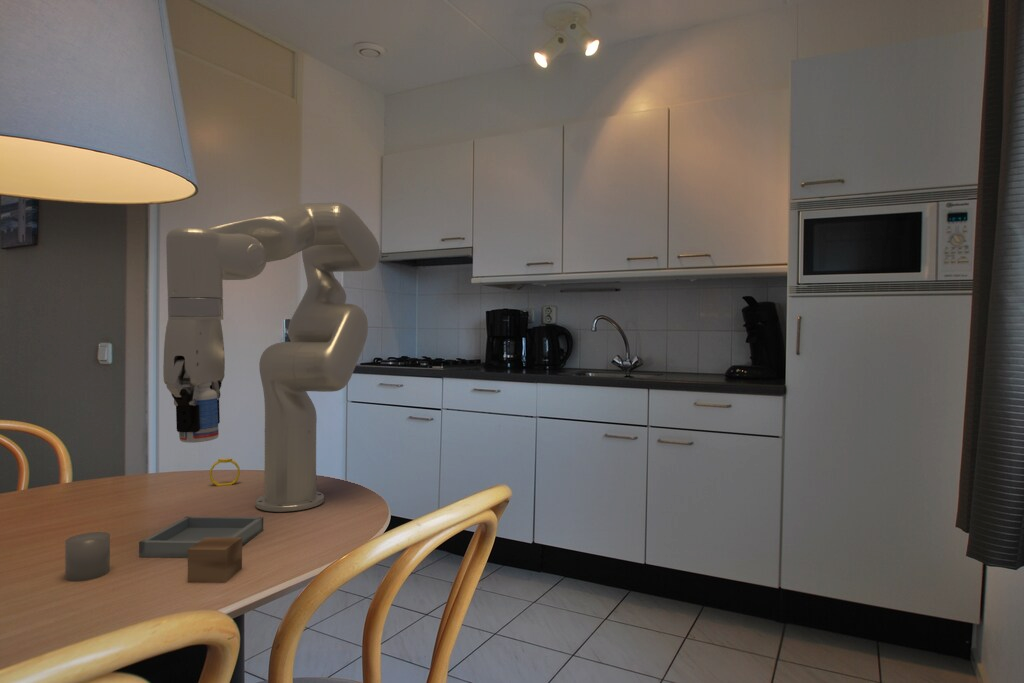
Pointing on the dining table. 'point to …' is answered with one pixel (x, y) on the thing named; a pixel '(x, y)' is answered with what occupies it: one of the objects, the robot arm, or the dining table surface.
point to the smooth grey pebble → (87, 556)
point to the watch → (224, 460)
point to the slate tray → (197, 534)
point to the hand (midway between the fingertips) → (198, 426)
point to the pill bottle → (204, 416)
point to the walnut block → (214, 560)
